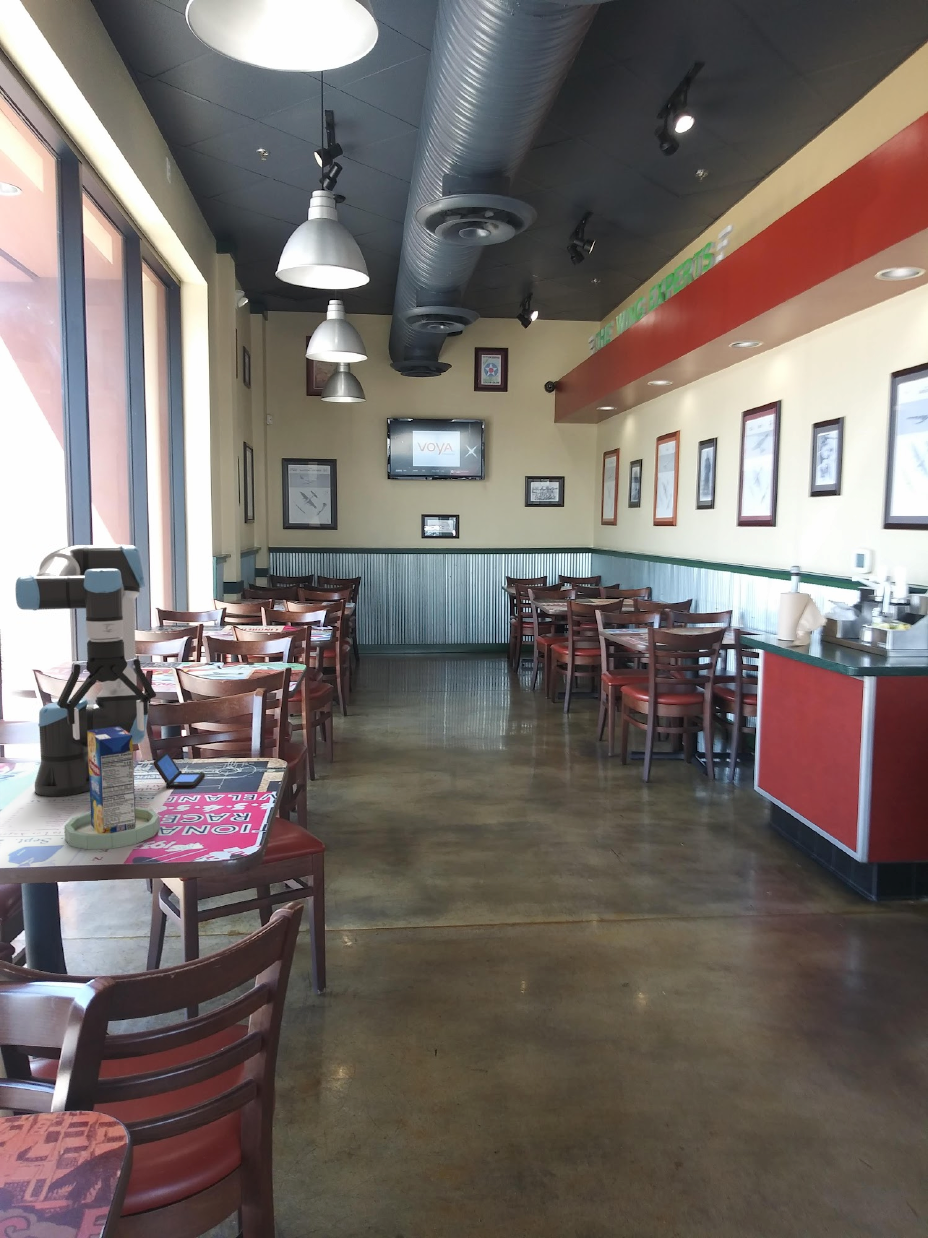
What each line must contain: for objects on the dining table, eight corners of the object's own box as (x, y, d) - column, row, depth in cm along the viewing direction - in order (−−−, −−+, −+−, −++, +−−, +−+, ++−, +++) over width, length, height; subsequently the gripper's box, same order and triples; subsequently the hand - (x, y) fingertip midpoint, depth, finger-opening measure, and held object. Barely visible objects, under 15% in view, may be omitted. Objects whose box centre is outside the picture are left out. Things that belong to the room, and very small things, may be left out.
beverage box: (103, 839, 184) (99, 739, 182) (91, 825, 193) (87, 730, 191) (136, 832, 188) (132, 735, 186) (122, 819, 197) (118, 726, 195)
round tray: (58, 830, 193) (57, 817, 192) (144, 814, 204) (143, 802, 204) (77, 855, 177) (76, 841, 177) (169, 836, 189) (168, 823, 188)
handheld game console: (194, 789, 225) (193, 761, 224) (152, 790, 224) (152, 762, 223) (206, 776, 237) (205, 749, 237) (166, 776, 237) (165, 750, 236)
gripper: (46, 645, 176) (51, 745, 178) (168, 636, 191) (171, 729, 193) (39, 641, 182) (44, 738, 184) (158, 633, 197) (161, 723, 199)
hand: (109, 734), depth 189 cm, fingers open, 13 cm apart
